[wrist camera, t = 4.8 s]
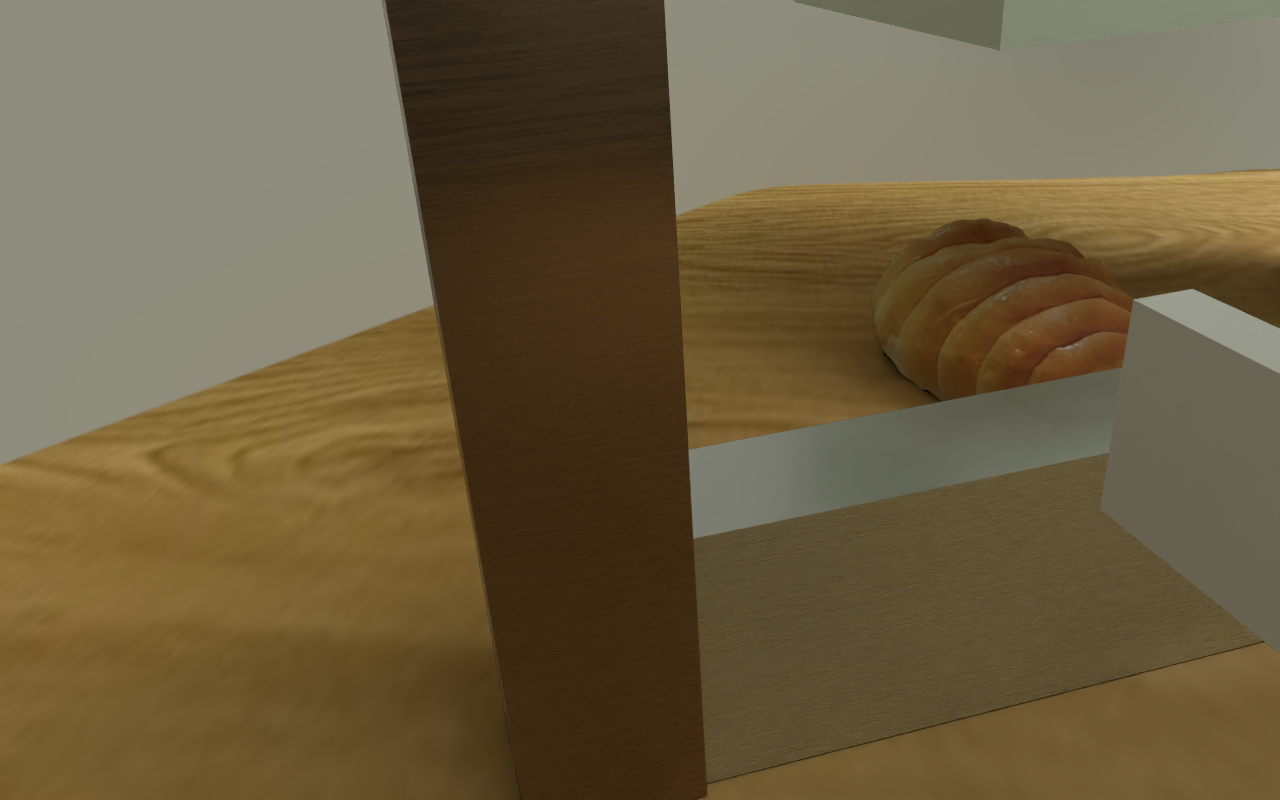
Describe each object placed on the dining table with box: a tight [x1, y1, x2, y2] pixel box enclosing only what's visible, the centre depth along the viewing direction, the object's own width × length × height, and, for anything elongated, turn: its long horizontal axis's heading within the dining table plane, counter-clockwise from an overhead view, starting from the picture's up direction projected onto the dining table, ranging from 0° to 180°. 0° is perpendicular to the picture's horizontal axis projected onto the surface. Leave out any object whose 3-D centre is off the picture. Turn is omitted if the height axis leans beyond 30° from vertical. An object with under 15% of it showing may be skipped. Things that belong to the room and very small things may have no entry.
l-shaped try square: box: [382, 0, 1264, 800], centre depth 17 cm, size 24×3×14 cm, turn 104°
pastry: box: [871, 219, 1135, 402], centre depth 29 cm, size 9×7×4 cm
